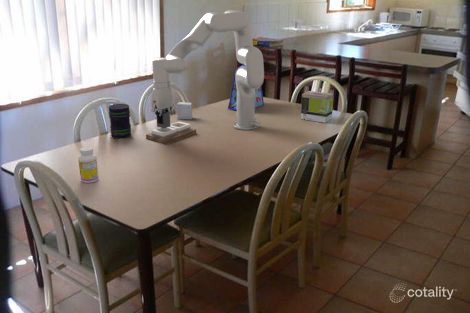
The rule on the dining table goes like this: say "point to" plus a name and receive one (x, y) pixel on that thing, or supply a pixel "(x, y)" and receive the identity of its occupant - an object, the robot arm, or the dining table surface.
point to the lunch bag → (233, 95)
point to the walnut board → (173, 137)
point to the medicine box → (184, 110)
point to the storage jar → (120, 121)
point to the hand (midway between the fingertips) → (163, 122)
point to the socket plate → (171, 129)
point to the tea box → (317, 106)
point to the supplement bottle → (88, 165)
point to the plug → (165, 119)
